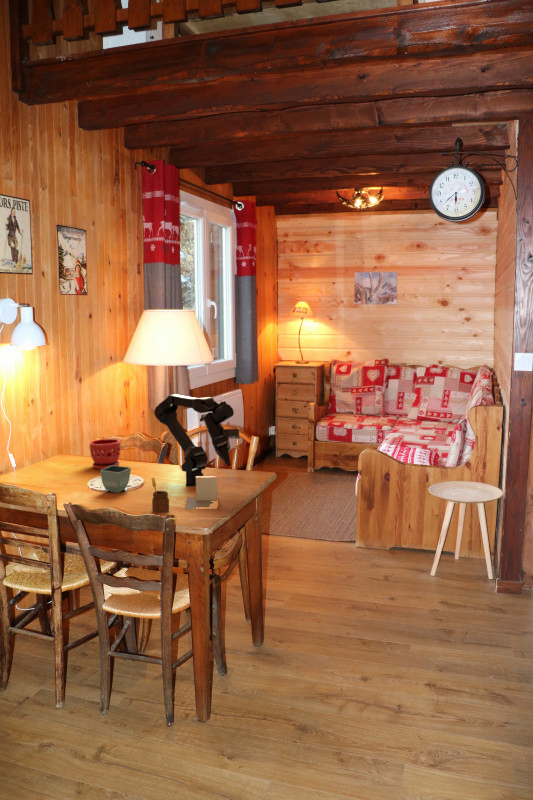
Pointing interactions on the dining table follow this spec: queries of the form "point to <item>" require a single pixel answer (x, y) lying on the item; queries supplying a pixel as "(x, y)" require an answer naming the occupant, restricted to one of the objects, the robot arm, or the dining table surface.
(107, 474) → the flower pot
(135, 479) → the dining table surface
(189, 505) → the slate mat
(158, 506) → the utensil holder
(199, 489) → the block
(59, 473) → the dining table surface
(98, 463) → the plant pot
